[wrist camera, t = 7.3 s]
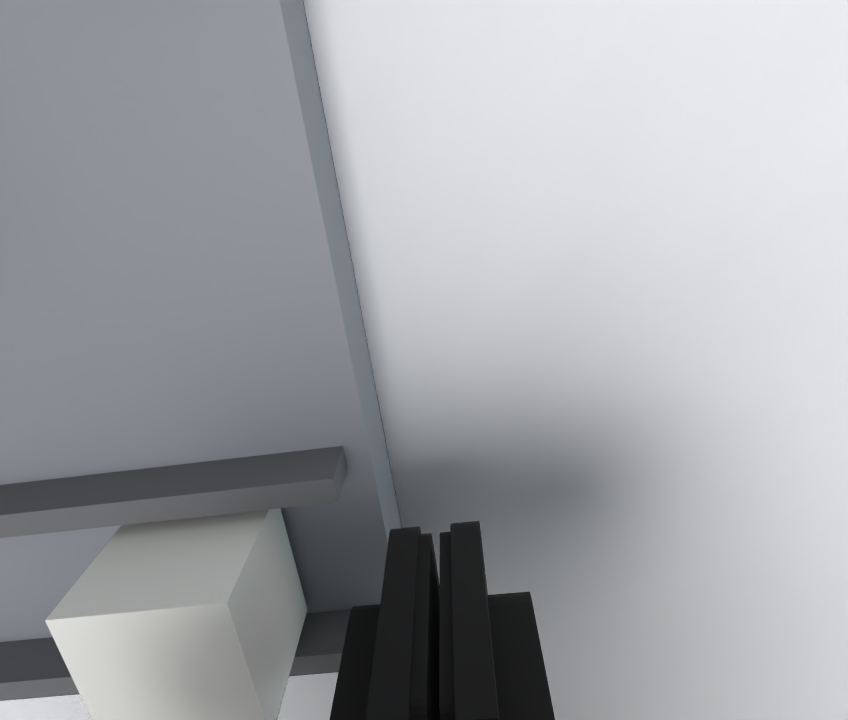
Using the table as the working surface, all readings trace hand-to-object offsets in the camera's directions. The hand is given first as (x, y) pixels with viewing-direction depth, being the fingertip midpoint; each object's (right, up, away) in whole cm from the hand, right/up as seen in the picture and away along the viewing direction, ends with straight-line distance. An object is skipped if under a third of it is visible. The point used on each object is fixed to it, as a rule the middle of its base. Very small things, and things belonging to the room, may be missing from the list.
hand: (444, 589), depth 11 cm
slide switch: (-5, 0, +2) cm, 5 cm away
